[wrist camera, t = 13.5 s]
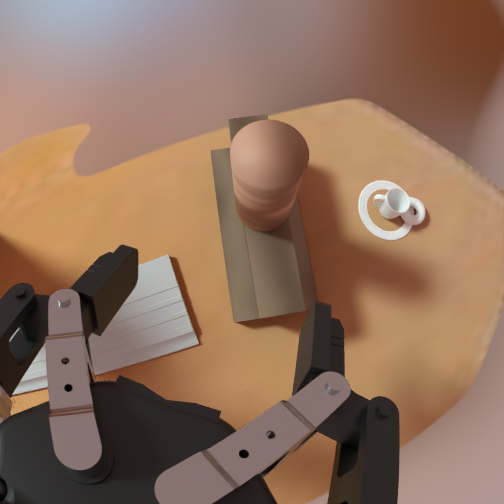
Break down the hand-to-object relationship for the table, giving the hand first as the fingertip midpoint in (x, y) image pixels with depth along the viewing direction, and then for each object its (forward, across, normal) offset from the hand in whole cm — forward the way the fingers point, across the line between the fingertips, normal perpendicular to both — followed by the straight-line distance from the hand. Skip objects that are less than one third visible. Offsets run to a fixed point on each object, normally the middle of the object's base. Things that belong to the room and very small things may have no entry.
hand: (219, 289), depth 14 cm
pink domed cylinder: (+16, 0, +3) cm, 17 cm away
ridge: (+22, 0, +9) cm, 24 cm away
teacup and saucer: (+26, -17, +6) cm, 31 cm away
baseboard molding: (+9, +18, +24) cm, 31 cm away
